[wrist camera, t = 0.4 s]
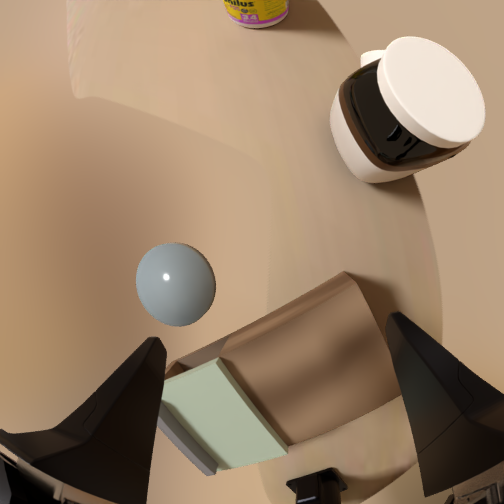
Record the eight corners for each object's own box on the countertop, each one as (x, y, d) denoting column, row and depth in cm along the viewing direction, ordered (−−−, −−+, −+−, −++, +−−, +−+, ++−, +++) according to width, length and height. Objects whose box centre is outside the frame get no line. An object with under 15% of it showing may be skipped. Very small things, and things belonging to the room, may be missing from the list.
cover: (288, 446, 19) (286, 465, 17) (218, 464, 21) (212, 481, 18) (218, 357, 19) (209, 373, 17) (149, 386, 21) (136, 400, 18)
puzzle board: (389, 365, 23) (406, 391, 18) (229, 434, 26) (219, 464, 21) (343, 271, 23) (356, 283, 18) (171, 361, 26) (150, 385, 21)
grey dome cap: (231, 300, 24) (228, 303, 23) (168, 334, 25) (163, 338, 24) (187, 226, 24) (182, 226, 23) (129, 268, 25) (123, 269, 24)
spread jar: (349, 197, 22) (400, 172, 10) (297, 86, 22) (298, 1, 10) (451, 162, 20) (529, 132, 8) (401, 63, 20) (443, -3, 8)
